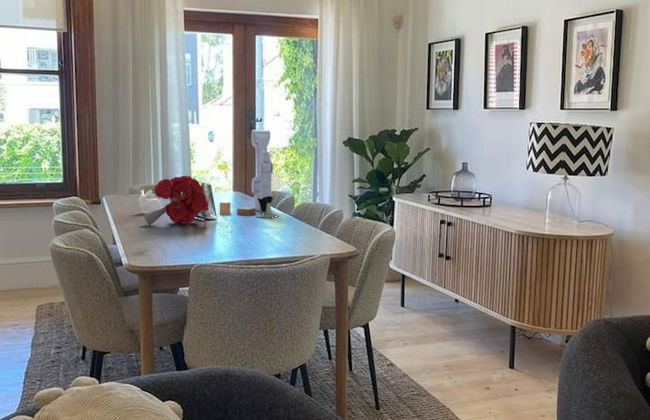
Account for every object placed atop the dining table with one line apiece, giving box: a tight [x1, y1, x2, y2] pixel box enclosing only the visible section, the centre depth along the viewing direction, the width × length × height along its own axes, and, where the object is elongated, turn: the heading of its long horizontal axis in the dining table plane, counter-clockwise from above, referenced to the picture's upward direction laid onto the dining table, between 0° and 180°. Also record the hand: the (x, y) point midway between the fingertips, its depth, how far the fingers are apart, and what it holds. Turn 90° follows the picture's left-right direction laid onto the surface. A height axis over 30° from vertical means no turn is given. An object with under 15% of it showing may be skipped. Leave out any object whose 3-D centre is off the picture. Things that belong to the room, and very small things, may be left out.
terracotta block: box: [219, 201, 231, 215], centre depth 339 cm, size 4×4×6 cm
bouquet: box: [142, 175, 209, 226], centre depth 298 cm, size 22×24×30 cm
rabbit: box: [138, 189, 164, 215], centre depth 333 cm, size 12×9×12 cm
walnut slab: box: [236, 206, 257, 216], centre depth 339 cm, size 7×7×4 cm
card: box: [255, 213, 280, 219], centre depth 332 cm, size 10×8×1 cm
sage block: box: [259, 202, 272, 215], centre depth 341 cm, size 4×4×6 cm
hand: (265, 211), depth 341 cm, fingers closed on sage block, 4 cm apart
